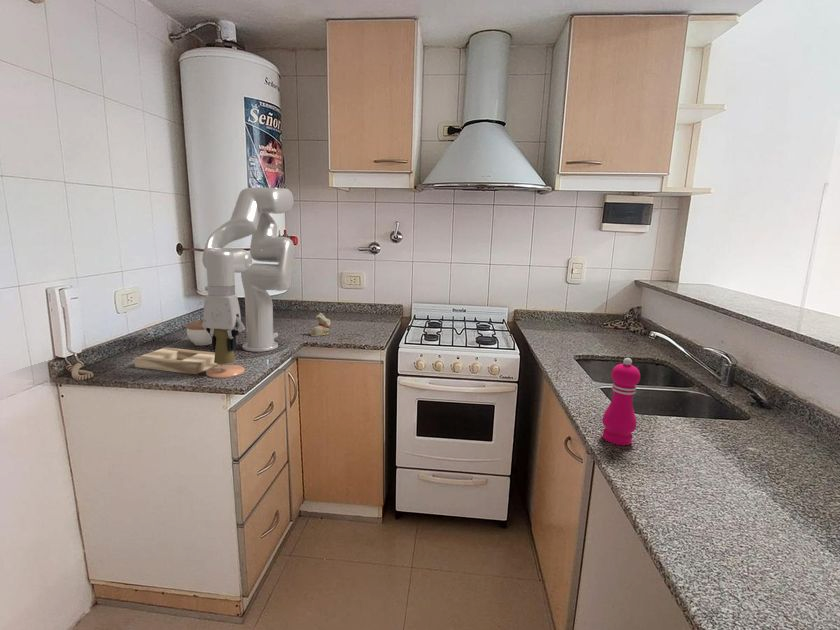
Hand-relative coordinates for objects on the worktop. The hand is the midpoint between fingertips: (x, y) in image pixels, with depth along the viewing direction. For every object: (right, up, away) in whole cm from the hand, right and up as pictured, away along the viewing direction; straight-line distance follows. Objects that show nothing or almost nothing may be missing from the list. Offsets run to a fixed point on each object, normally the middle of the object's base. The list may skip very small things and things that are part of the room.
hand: (224, 348), depth 135 cm
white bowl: (-22, -1, +32) cm, 39 cm away
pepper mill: (+107, -19, -33) cm, 113 cm away
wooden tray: (-17, -6, +7) cm, 20 cm away
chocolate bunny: (+18, +2, +51) cm, 54 cm away
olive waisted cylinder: (0, -4, +1) cm, 4 cm away
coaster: (0, -7, +2) cm, 8 cm away
